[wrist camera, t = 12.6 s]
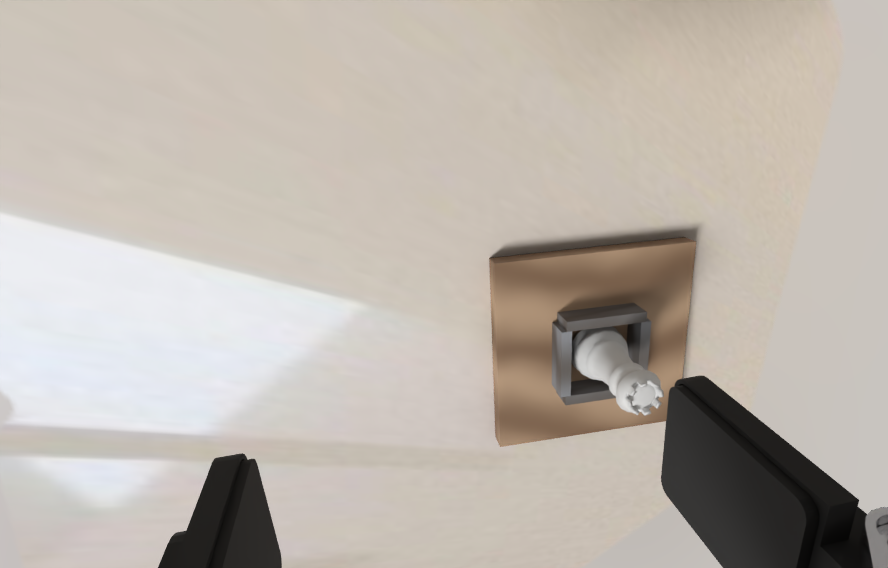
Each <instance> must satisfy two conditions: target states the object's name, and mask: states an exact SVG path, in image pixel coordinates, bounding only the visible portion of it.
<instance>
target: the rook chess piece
mask: <svg viewBox="0 0 888 568" xmlns="http://www.w3.org/2000/svg"><path fill="white" fill-rule="evenodd" d="M571 363H572V364H573V365H574V367H575V368H576V369H577V370H579V371H580V373H581V374H583V375H585V376H587V377H588V378H591V379H593V380H600V381H603V382H604V383H606V384H607V385H608V386H609V390H610V391H611V393H612V394H613V395H614V396H616V402H617V404H618V405H619V407H620V408H621V409H622V410H625V411H627V412H632V413H634V414H636V415H638V414H639V412H641V413H642V414H643V415H644V416H645V415H649V414H651V411H650V410H649V409H650V408H651V407H652V406H654V407H656V408H657V409H658V408H659V407H660V405H661V404H662V403H661V402H660V401H659V400H658V398H659V397H664V393H663V390H662V389H661V383H660V380H659V378H658V377H657V375H656V374H654V373H653V372H651V371H648V370H644V369H643V367H642V366H641V365H639V364H637V363H633V362H632V360H631V359H630V358H629V354H628V346H627V343H626V341H625V339H624V338H623V336H622V335H621V334H620V333H619V332H618V331H617V329H616V328H614V327H612V326H610V327H602V328H595V329H587V330H582V331H580V332H579V333H578V334H577V335H576V337H575V338H574V340H573V341H572V361H571Z"/></svg>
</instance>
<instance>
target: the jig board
mask: <svg viewBox="0 0 888 568" xmlns="http://www.w3.org/2000/svg"><path fill="white" fill-rule="evenodd" d="M695 249H696V241H693V240H690V239H688V238H685V237H682V238H673V239H663V240H654V241H645V242H635V243H626V244H617V245H607V246H598V247H589V248H579V249H570V250H561V251H551V252H542V253H533V254H523V255H514V256H505V257H495V258H489V259H490V288H491V317H492V346H493V375H494V404H495V433H496V438H497V441H498V443H499V445H500V447H503V446H509V445H516V444H522V443H528V442H535V441H541V440H547V439H554V438H560V437H567V436H573V435H579V434H586V433H592V432H599V431H605V430H611V429H618V428H624V427H631V426H637V425H643V424H650V423H656V422H663V421H666V418H667V407H668V396H669V390H670V388H671V387H674V385H675V383H676V381H677V380H679V379H682V375H683V365H684V355H685V346H686V336H687V326H688V317H689V307H690V297H691V288H692V278H693V268H694V259H695ZM610 326H612V327H614V328H616V329H617V331H618V332H619V333H620V334H621V335H622V336H623V338H624V339H625V341H626V343H627V346H628V354H629V358H630V359H631V360H632V362H633V363H637V364H639V365H641V366H642V367H643V369H644V370H648V371H651V372H653V373H654V374H656V375H657V377H658V378H659V380H660V383H661V389H662V390H663V393H664V397H659V398H658V400H659V401H660V402H661V403H662V404H661V405H660V407H659V408H658V409H657V408H656V407H654V406H652V407H651V408H650V409H649V410H650V411H651V414H649V415H645V416H644V415H643V414H642V413H641V412H639V414H638V415H636V414H634V413H632V412H627V411H625V410H622V409H621V408H620V407H619V405H618V404H617V402H616V396H614V395H613V394H612V393H611V391H610V390H609V386H608V385H607V384H606V383H604V382H603V381H600V380H593V379H591V378H588V377H587V376H585V375H583V374H581V373H580V371H579V370H577V369H576V368H575V367H574V365H573V364H572V363H571V361H572V341H573V340H574V338H575V337H576V335H577V334H578V333H579V332H580V331H582V330H587V329H595V328H602V327H610Z"/></svg>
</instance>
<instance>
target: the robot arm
mask: <svg viewBox="0 0 888 568" xmlns="http://www.w3.org/2000/svg"><path fill="white" fill-rule="evenodd" d="M661 482H662V486H663V489H664V491H665V493H666V495H667V496H668V498H669V499H670V500H671V501H672V503H673V504H674V505H675V507H676V508H677V509H678V510H679V512H680V513H681V514H682V515H683V517H684V518H685V519H686V521H687V522H688V523H689V524H690V525H691V527H692V528H693V529H694V531H695V532H696V533H697V535H698V536H699V537H700V539H701V540H702V541H703V542H704V544H705V545H706V546H707V547H708V549H709V550H710V551H711V553H712V554H713V555H714V557H715V558H716V559H717V560H718V562H719V563H720V564H721V566H722V567H723V568H888V507H883V508H882V507H881V508H879V509H875V510H872V511H871V512H870V513H869V514H868V515H867V514H866V513H865V512H864V511H862V510H861V509H860V508H859V507H857V506H858V502H859V500H858V499H857V498H856V497H854V496H853V495H852V494H851V493H849V492H848V491H847V490H846V489H845V488H843V487H842V486H841V485H840V484H838V483H837V482H836V481H835V480H833V479H832V478H831V477H830V476H828V475H827V474H826V473H825V472H824V471H822V470H821V469H820V468H819V467H817V466H816V465H815V464H814V463H812V462H811V461H810V460H809V459H807V458H806V457H805V456H804V455H802V454H801V453H800V452H799V451H797V450H796V449H795V448H794V447H792V446H791V445H790V444H789V443H788V442H786V441H785V440H784V439H782V438H781V437H780V436H779V435H778V434H776V433H775V432H774V431H773V430H771V429H770V428H769V427H768V426H766V425H765V424H764V423H763V422H761V421H760V420H759V419H758V418H756V417H755V416H754V415H753V414H752V413H750V412H749V411H748V410H747V409H745V408H744V407H743V406H742V405H740V404H739V403H738V402H737V401H735V400H734V399H733V398H732V397H730V396H729V395H728V394H727V393H725V392H724V391H723V390H722V389H720V388H719V387H718V386H717V385H715V384H714V383H713V382H712V381H711V380H709V379H708V378H706V377H705V376H695V377H689V378H684V379H679V380H677V381H676V383H675V385H674V387H671V388H670V390H669V396H668V407H667V418H666V430H665V441H664V452H663V464H662V475H661ZM281 567H282V563H281V553H280V549H279V545H278V542H277V538H276V534H275V530H274V526H273V523H272V519H271V515H270V511H269V507H268V504H267V500H266V496H265V492H264V489H263V485H262V481H261V477H260V473H259V470H258V466H257V463H256V460H255V459H249V460H247V458H246V456H245V454H243V453H242V454H236V455H230V456H225V457H219V458H215V459H214V461H213V462H212V465H211V467H210V470H209V473H208V475H207V478H206V481H205V483H204V486H203V489H202V491H201V494H200V497H199V499H198V502H197V504H196V507H195V510H194V512H193V515H192V518H191V520H190V523H189V526H188V528H187V531H183V532H178V533H175V534H174V535H173V536H172V537H171V539H170V541H169V543H168V545H167V547H166V550H165V552H164V555H163V557H162V560H161V562H160V564H159V567H158V568H281Z"/></svg>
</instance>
